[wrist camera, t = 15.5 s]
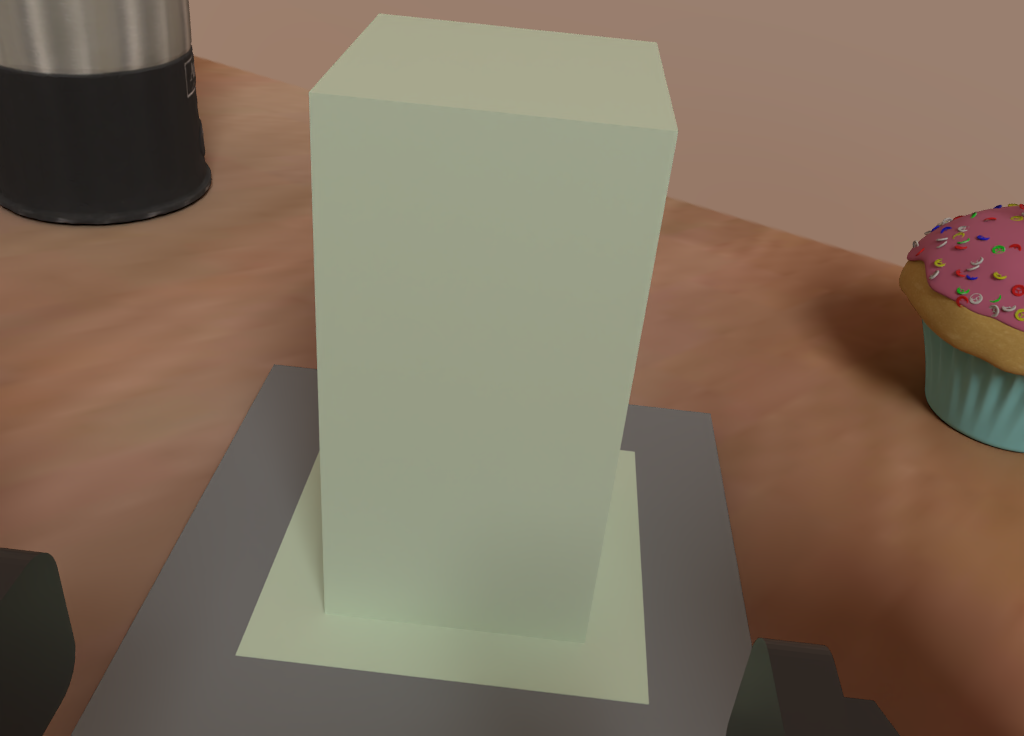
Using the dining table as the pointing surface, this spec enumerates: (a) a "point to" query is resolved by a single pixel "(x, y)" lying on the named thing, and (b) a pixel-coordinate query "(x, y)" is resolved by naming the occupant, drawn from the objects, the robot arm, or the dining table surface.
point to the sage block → (479, 313)
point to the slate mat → (423, 648)
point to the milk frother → (98, 110)
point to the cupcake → (973, 322)
